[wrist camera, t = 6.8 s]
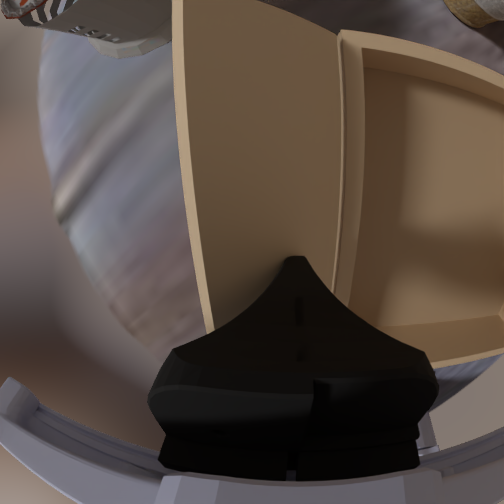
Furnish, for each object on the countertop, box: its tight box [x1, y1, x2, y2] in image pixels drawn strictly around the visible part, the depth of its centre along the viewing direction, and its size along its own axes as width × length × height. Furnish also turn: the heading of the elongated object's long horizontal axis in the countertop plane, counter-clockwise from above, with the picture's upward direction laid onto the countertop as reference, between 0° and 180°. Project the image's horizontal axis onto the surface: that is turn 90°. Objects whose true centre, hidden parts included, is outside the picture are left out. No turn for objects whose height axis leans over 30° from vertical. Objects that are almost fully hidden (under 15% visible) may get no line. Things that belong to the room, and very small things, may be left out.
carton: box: [331, 29, 504, 369], centre depth 14 cm, size 20×20×5 cm
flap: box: [172, 0, 341, 334], centre depth 10 cm, size 19×7×1 cm
